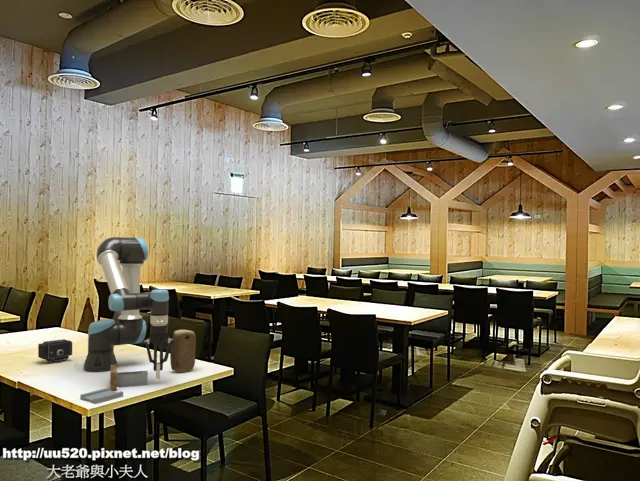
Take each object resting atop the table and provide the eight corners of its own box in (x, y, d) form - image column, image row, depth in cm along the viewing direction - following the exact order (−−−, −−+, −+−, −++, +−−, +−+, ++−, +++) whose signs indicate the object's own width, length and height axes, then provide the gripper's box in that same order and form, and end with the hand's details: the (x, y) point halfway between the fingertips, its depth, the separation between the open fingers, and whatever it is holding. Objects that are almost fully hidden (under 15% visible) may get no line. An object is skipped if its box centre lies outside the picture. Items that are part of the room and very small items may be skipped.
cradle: (107, 392, 208) (107, 387, 208) (123, 396, 202) (123, 391, 203) (80, 399, 198) (80, 394, 198) (95, 403, 192) (96, 399, 192)
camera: (63, 360, 269) (34, 361, 257) (66, 338, 270) (36, 339, 258) (73, 363, 262) (43, 365, 250) (76, 341, 263) (46, 341, 252)
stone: (175, 374, 238) (176, 332, 239) (167, 371, 243) (168, 330, 244) (197, 370, 247) (198, 329, 247) (189, 368, 252) (190, 327, 252)
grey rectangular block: (146, 383, 224) (147, 370, 224) (147, 385, 220) (147, 372, 220) (112, 385, 218) (113, 373, 218) (112, 388, 214) (113, 375, 214)
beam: (116, 381, 224) (116, 364, 224) (116, 390, 210) (117, 372, 210) (110, 382, 223) (110, 364, 223) (110, 391, 209) (110, 372, 209)
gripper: (144, 326, 218) (142, 381, 217) (175, 325, 223) (174, 378, 222) (143, 324, 225) (141, 377, 224) (173, 322, 230) (172, 374, 229)
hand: (157, 377), depth 223 cm, fingers closed
